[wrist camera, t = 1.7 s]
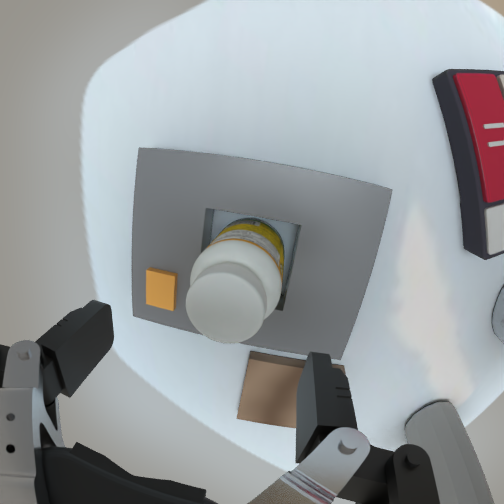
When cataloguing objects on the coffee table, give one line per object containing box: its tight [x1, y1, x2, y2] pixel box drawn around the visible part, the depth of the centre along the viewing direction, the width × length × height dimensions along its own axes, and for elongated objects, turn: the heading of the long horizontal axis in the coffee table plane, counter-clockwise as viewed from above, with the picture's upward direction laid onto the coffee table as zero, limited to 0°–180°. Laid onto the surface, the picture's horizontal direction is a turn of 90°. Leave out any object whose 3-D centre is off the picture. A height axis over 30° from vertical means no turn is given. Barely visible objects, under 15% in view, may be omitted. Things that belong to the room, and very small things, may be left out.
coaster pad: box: [237, 351, 345, 428], centre depth 26 cm, size 9×9×1 cm
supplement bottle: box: [186, 218, 284, 343], centre depth 18 cm, size 5×5×10 cm
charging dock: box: [132, 148, 392, 360], centre depth 21 cm, size 18×14×3 cm
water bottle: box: [405, 402, 494, 504], centre depth 15 cm, size 9×8×25 cm
